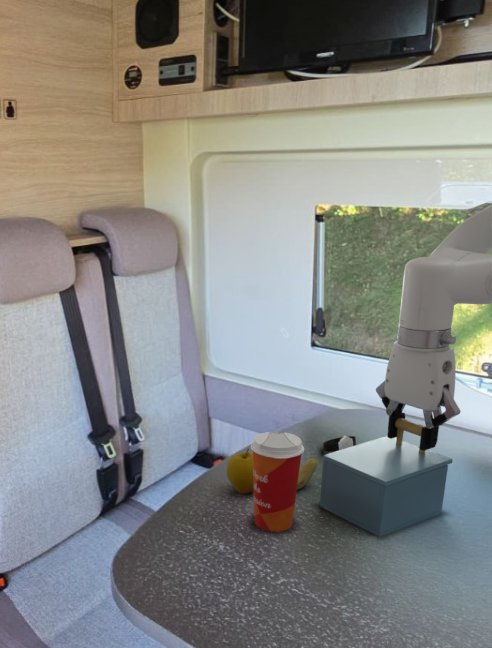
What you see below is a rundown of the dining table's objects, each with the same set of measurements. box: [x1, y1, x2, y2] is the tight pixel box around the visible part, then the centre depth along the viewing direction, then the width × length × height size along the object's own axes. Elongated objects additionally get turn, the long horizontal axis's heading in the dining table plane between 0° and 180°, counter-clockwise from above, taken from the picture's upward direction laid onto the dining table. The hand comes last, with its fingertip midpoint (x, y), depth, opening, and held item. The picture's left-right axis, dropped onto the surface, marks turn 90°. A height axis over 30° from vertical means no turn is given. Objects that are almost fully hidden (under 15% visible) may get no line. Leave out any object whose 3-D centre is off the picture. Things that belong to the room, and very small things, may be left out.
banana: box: [297, 457, 318, 491], centre depth 131 cm, size 10×2×4 cm, turn 136°
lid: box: [322, 418, 453, 486], centre depth 118 cm, size 16×13×6 cm
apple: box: [226, 447, 254, 495], centre depth 130 cm, size 6×6×8 cm
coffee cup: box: [250, 431, 305, 533], centre depth 117 cm, size 8×8×15 cm
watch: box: [322, 435, 357, 453], centre depth 146 cm, size 8×5×4 cm, turn 117°
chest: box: [319, 459, 449, 538], centre depth 120 cm, size 15×13×9 cm
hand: (411, 441), depth 120 cm, fingers closed on lid, 5 cm apart
